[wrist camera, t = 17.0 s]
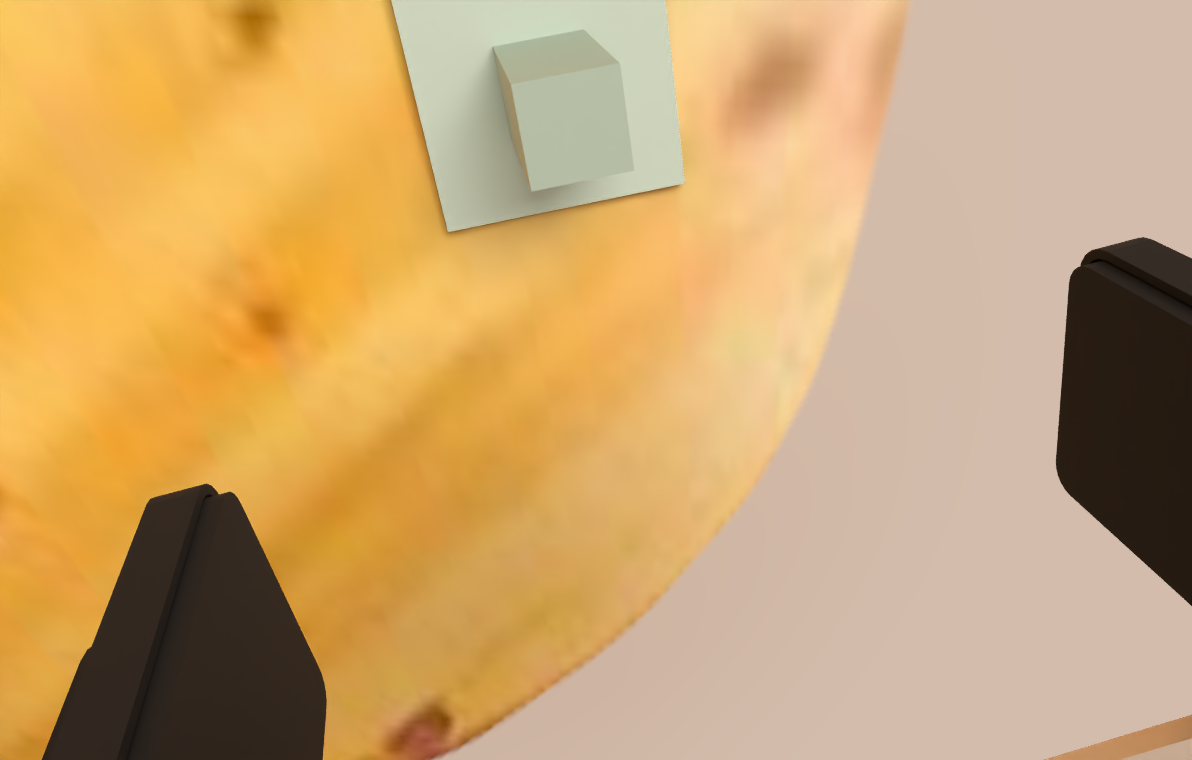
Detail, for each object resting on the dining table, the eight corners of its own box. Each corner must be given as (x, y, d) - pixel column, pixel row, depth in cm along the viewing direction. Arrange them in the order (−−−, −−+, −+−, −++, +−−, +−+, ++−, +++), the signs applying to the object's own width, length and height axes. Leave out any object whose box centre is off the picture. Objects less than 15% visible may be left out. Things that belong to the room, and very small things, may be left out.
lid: (677, 175, 34) (735, 241, 28) (446, 222, 34) (456, 301, 28) (629, -270, 28) (691, -307, 22) (338, -221, 27) (319, -246, 21)
